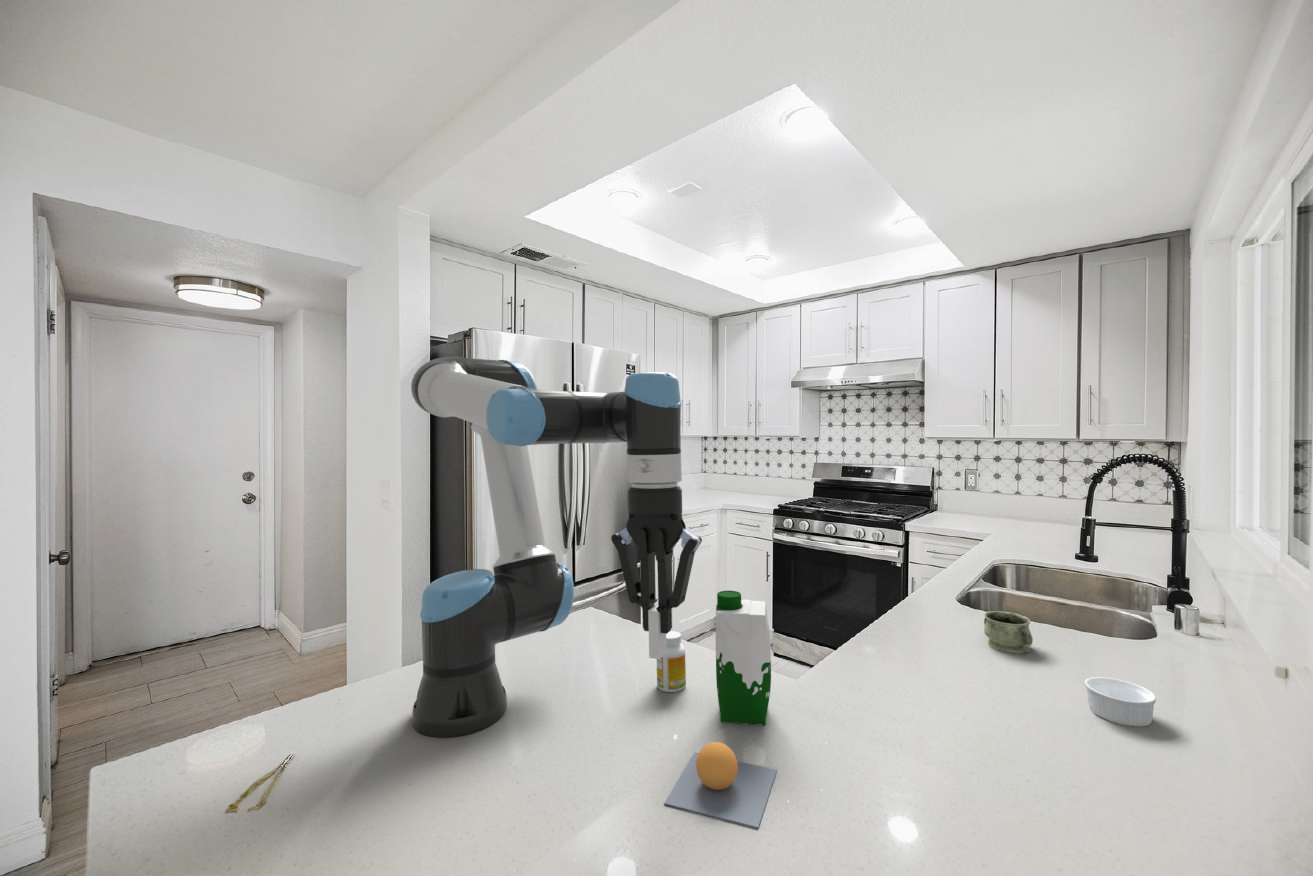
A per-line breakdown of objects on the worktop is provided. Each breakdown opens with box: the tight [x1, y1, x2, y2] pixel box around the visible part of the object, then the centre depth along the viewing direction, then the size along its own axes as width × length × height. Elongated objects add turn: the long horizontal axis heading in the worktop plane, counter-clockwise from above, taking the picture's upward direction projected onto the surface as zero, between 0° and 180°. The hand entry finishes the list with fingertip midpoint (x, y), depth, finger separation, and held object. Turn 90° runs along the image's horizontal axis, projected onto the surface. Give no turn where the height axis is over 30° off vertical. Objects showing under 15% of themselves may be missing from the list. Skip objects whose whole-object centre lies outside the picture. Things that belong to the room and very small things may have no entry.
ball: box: [696, 741, 738, 790], centre depth 73 cm, size 6×6×6 cm
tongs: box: [226, 753, 295, 814], centre depth 76 cm, size 4×13×2 cm, turn 12°
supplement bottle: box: [656, 630, 687, 693], centre depth 103 cm, size 5×5×10 cm
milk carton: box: [715, 590, 772, 726], centre depth 92 cm, size 9×9×20 cm
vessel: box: [983, 610, 1033, 654], centre depth 119 cm, size 12×9×6 cm
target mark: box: [664, 751, 778, 830], centre depth 73 cm, size 12×12×1 cm
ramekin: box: [1084, 676, 1157, 728], centre depth 90 cm, size 9×9×4 cm
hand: (658, 654), depth 77 cm, fingers closed
